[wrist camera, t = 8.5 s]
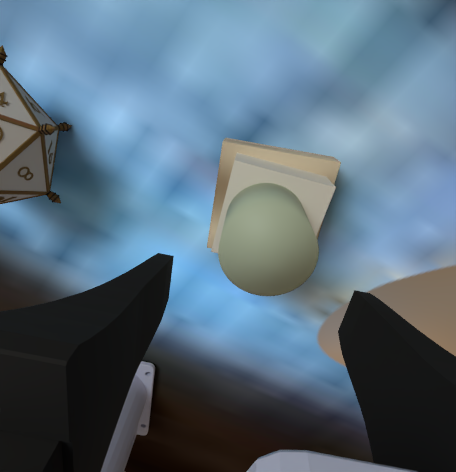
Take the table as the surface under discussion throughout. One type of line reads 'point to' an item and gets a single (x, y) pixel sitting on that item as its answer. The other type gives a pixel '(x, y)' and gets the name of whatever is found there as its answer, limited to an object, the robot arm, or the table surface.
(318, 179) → the cream block
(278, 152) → the birch base block
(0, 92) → the game die
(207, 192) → the table surface
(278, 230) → the green capsule
